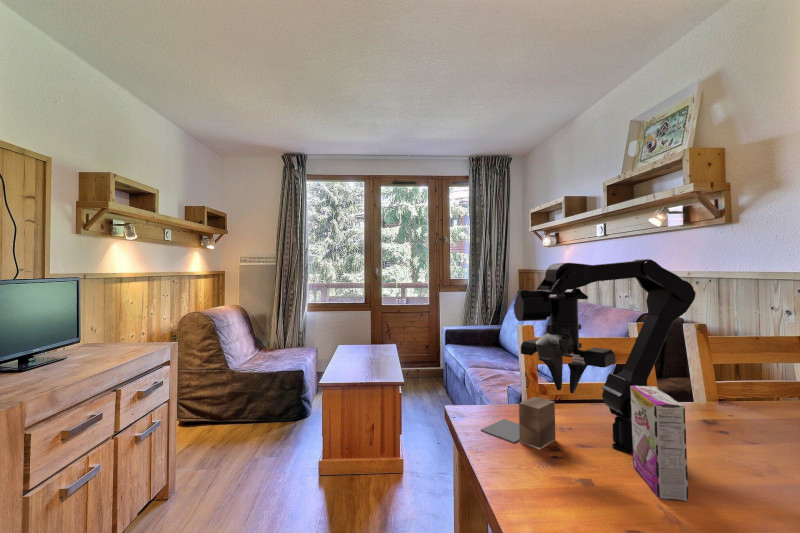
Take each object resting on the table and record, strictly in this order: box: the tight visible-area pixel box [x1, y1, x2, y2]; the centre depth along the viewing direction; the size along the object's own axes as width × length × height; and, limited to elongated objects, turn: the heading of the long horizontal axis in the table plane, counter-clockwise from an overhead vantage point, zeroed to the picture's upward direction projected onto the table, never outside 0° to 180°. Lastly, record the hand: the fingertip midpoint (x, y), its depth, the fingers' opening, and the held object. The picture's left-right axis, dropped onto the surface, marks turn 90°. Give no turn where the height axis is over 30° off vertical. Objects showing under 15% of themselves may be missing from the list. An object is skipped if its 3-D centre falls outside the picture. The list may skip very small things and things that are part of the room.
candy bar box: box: [630, 385, 689, 502], centre depth 70 cm, size 11×5×16 cm, turn 168°
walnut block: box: [518, 396, 556, 450], centre depth 88 cm, size 5×7×9 cm
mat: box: [480, 418, 520, 444], centre depth 94 cm, size 10×10×1 cm
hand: (565, 391), depth 83 cm, fingers open, 3 cm apart
